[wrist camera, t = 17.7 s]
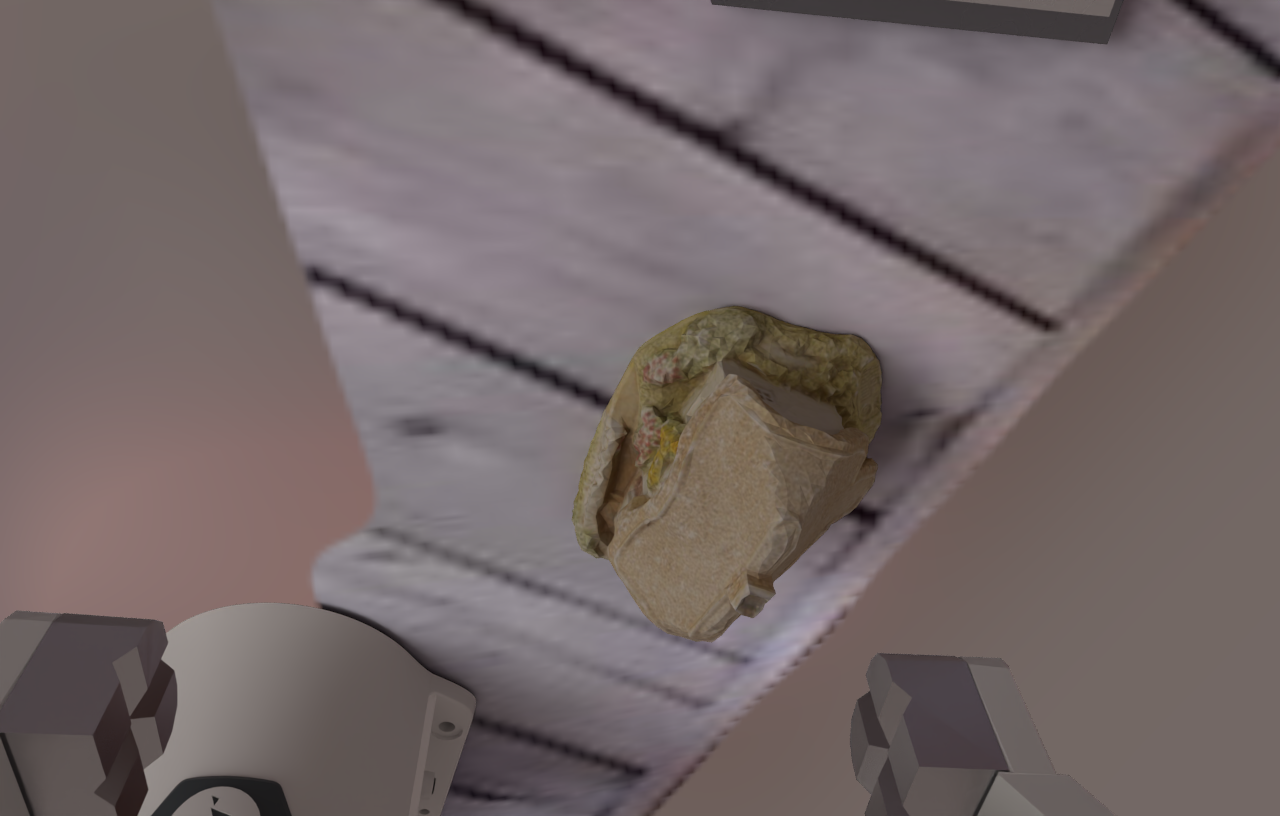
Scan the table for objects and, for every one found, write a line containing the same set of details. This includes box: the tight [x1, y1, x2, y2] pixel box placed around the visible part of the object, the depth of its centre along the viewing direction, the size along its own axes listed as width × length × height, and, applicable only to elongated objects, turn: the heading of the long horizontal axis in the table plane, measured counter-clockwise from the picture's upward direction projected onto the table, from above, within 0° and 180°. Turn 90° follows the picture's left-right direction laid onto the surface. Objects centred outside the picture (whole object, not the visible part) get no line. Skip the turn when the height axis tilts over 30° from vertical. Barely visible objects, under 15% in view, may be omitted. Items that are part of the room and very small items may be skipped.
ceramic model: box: [572, 306, 882, 642], centre depth 40 cm, size 14×11×10 cm
